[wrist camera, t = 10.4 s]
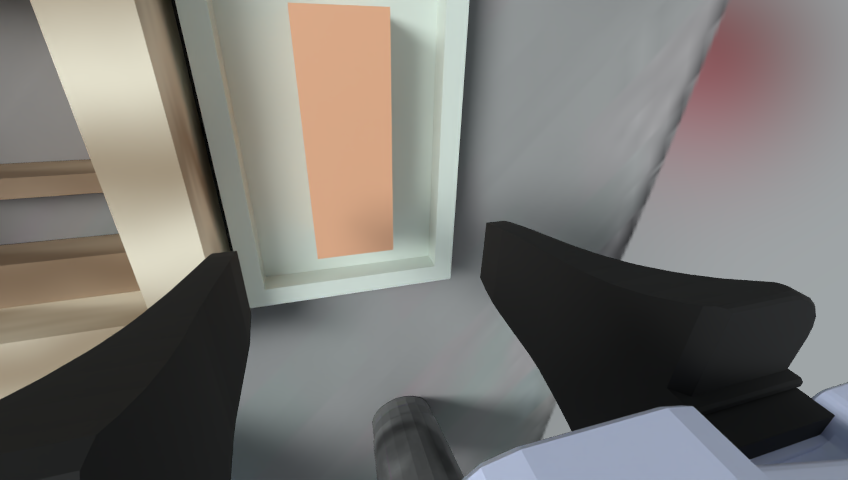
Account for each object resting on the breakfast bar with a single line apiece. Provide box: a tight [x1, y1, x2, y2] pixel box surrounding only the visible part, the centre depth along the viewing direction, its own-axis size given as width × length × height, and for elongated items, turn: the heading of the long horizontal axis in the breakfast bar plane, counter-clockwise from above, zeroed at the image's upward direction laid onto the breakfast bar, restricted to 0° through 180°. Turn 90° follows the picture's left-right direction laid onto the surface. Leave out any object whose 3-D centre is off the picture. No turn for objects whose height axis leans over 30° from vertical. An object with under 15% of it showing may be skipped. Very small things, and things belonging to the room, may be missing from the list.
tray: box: [175, 0, 469, 308], centre depth 19 cm, size 16×11×2 cm
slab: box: [288, 3, 393, 259], centre depth 17 cm, size 10×4×3 cm, turn 178°
